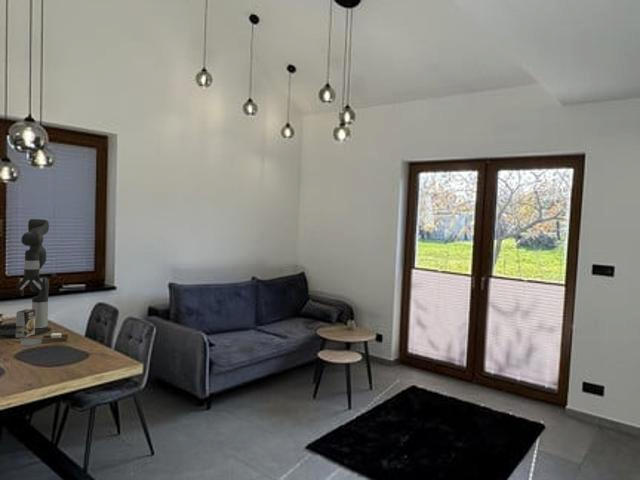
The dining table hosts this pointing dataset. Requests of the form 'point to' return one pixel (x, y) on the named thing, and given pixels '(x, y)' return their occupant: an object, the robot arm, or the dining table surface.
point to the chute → (54, 339)
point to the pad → (31, 342)
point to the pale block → (56, 335)
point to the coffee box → (25, 323)
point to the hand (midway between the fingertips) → (31, 295)
